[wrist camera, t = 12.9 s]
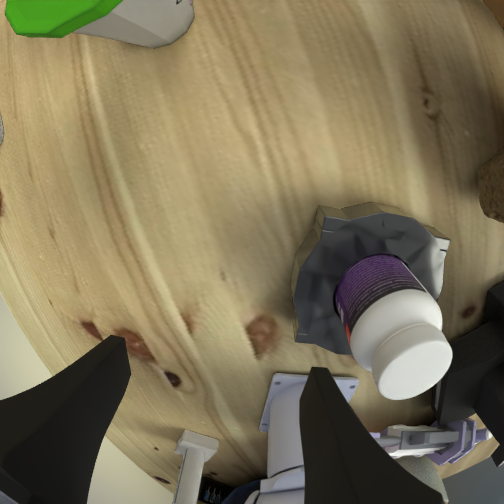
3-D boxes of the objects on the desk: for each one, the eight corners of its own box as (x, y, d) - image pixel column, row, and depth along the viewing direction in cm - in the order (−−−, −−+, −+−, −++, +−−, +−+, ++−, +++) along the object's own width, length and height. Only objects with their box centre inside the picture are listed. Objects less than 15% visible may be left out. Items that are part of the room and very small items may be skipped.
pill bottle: (313, 283, 20) (338, 389, 11) (365, 225, 19) (433, 306, 10) (363, 319, 21) (402, 418, 12) (412, 269, 20) (479, 354, 11)
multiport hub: (195, 476, 35) (204, 476, 34) (241, 496, 38) (251, 495, 37) (188, 499, 31) (197, 500, 30) (237, 516, 34) (247, 516, 33)
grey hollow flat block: (400, 337, 22) (410, 356, 20) (279, 328, 22) (280, 350, 20) (445, 218, 18) (463, 230, 16) (307, 189, 18) (313, 199, 16)
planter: (339, 477, 33) (345, 535, 23) (396, 439, 29) (413, 507, 19) (392, 478, 35) (402, 527, 25) (445, 442, 30) (463, 495, 20)
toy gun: (508, 407, 25) (468, 417, 31) (388, 398, 21) (337, 407, 28) (505, 452, 21) (464, 458, 27) (376, 476, 17) (325, 469, 23)
